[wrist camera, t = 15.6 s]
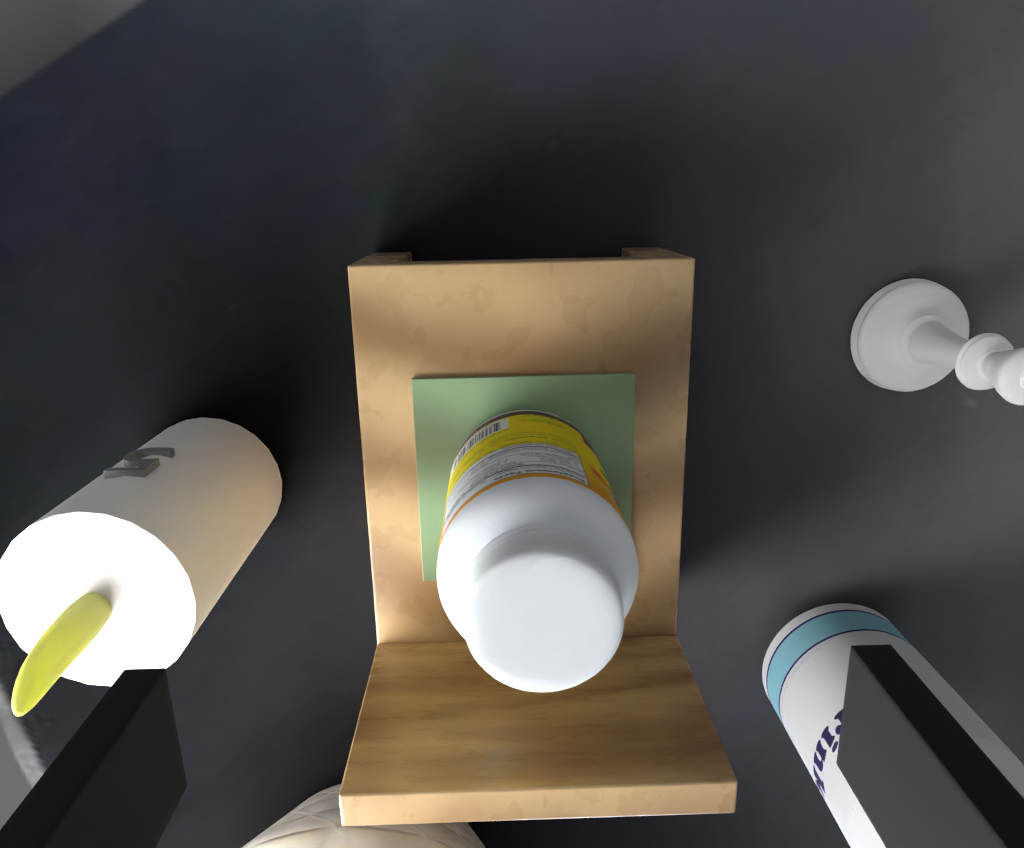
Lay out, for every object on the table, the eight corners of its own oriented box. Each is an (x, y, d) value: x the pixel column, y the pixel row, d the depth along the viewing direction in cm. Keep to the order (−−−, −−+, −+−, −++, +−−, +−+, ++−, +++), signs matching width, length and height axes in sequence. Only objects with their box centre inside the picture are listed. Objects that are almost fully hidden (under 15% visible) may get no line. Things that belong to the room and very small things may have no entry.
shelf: (373, 252, 32) (285, 294, 18) (659, 246, 32) (780, 283, 18) (396, 594, 36) (341, 828, 23) (646, 587, 37) (736, 814, 23)
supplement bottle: (585, 553, 29) (632, 735, 19) (441, 534, 29) (414, 709, 19) (614, 415, 28) (681, 537, 18) (462, 392, 27) (445, 504, 17)
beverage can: (790, 575, 36) (926, 749, 25) (917, 614, 37) (1106, 800, 26) (733, 692, 38) (836, 904, 27) (855, 727, 39) (1006, 948, 28)
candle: (273, 410, 34) (108, 570, 19) (289, 545, 35) (150, 782, 21) (130, 414, 33) (-144, 578, 19) (153, 549, 35) (-80, 791, 21)
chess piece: (842, 389, 34) (979, 465, 24) (858, 277, 32) (1011, 312, 23) (951, 390, 34) (1130, 466, 24) (971, 278, 33) (1170, 313, 23)
